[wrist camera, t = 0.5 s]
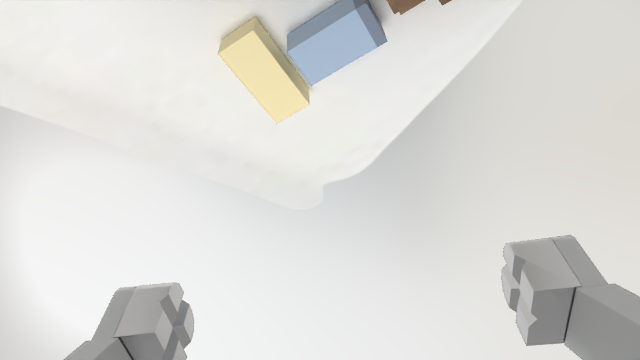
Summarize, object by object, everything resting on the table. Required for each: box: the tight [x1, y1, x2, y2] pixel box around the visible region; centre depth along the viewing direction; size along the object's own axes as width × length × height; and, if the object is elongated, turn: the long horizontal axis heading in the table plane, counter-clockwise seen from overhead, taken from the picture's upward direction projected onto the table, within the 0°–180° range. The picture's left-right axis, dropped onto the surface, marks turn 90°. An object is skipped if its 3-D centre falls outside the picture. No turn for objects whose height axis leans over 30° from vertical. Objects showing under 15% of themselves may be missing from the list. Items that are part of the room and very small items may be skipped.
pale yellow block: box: [218, 17, 310, 124], centre depth 45 cm, size 9×4×4 cm, turn 32°
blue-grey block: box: [287, 0, 387, 86], centre depth 43 cm, size 4×8×4 cm, turn 122°
